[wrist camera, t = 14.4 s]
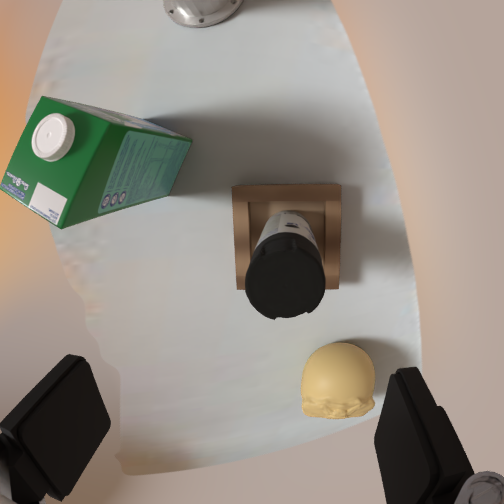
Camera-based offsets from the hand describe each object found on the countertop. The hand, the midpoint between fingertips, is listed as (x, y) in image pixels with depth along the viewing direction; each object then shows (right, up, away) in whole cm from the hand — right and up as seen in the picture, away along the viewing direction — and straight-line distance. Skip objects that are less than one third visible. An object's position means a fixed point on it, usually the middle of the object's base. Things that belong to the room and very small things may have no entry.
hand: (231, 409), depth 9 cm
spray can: (+6, +7, +36) cm, 37 cm away
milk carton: (-14, +19, +36) cm, 43 cm away
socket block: (+6, +7, +37) cm, 38 cm away
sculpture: (+14, -14, +42) cm, 46 cm away
